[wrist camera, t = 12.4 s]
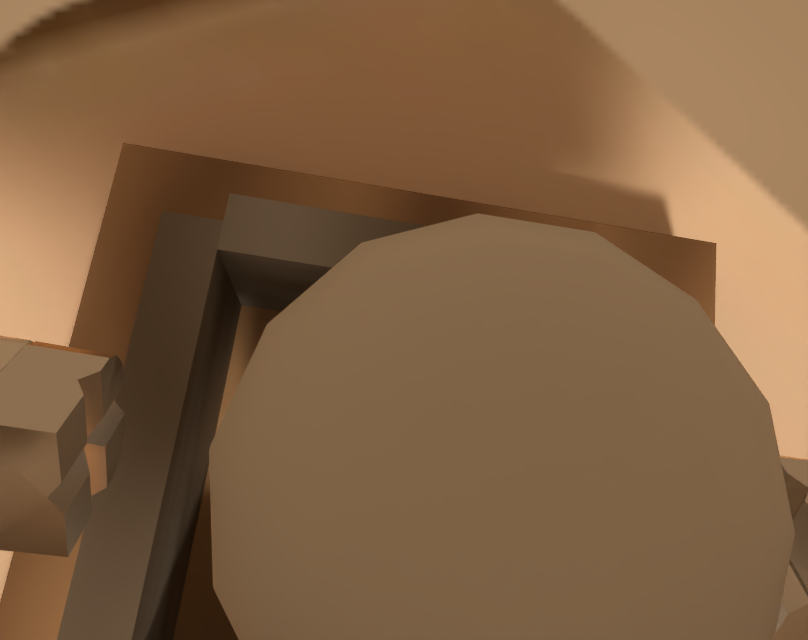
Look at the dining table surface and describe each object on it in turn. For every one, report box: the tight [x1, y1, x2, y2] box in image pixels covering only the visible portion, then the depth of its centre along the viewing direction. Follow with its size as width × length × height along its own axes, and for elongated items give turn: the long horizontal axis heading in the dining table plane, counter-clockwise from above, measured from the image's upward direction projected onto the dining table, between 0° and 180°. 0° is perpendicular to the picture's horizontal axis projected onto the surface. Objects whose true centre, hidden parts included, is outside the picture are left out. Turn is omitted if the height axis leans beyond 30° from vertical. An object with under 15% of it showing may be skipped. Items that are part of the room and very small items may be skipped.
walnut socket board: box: [0, 143, 716, 640], centre depth 16 cm, size 16×16×6 cm
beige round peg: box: [209, 213, 795, 640], centre depth 11 cm, size 6×6×13 cm
